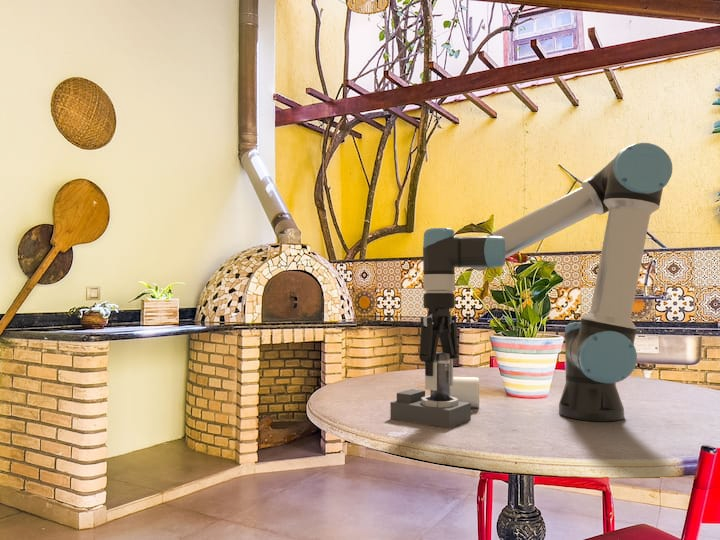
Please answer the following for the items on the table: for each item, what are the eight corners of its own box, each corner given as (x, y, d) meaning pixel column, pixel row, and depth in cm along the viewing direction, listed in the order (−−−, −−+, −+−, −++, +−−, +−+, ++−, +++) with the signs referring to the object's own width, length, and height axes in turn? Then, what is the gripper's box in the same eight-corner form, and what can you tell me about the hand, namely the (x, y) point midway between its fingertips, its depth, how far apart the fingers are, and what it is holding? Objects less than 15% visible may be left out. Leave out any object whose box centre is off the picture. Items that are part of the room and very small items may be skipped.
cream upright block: (479, 410, 146) (479, 379, 146) (440, 409, 148) (440, 378, 148) (479, 401, 158) (478, 373, 158) (443, 400, 160) (443, 372, 160)
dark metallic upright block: (445, 401, 137) (445, 351, 138) (453, 405, 133) (452, 353, 133) (427, 402, 136) (427, 352, 137) (434, 406, 132) (433, 354, 132)
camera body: (470, 419, 135) (470, 394, 136) (449, 428, 127) (449, 401, 127) (414, 411, 145) (413, 387, 145) (390, 418, 136) (390, 393, 136)
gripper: (445, 292, 146) (445, 380, 145) (403, 292, 130) (403, 391, 129) (471, 292, 141) (472, 383, 140) (431, 292, 125) (432, 395, 124)
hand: (439, 387), depth 135 cm, fingers open, 7 cm apart
